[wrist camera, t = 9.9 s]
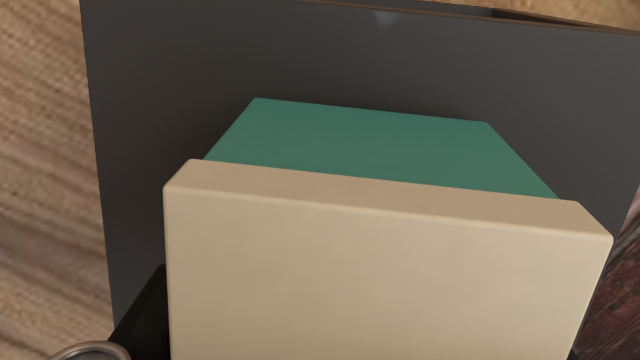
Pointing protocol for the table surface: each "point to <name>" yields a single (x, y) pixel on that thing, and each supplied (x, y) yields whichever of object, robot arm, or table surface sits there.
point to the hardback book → (616, 300)
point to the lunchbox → (372, 243)
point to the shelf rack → (349, 94)
